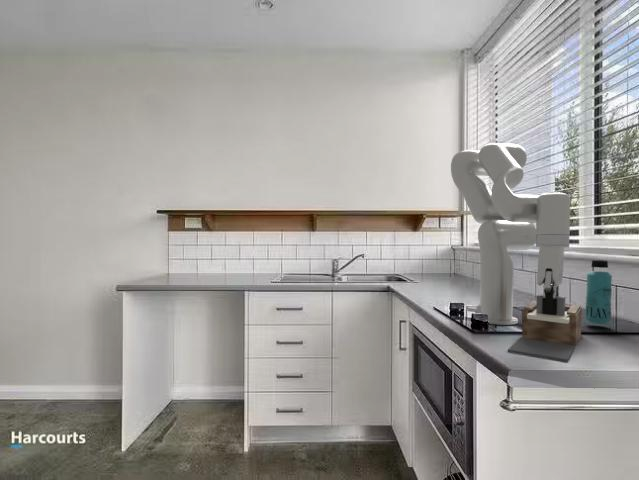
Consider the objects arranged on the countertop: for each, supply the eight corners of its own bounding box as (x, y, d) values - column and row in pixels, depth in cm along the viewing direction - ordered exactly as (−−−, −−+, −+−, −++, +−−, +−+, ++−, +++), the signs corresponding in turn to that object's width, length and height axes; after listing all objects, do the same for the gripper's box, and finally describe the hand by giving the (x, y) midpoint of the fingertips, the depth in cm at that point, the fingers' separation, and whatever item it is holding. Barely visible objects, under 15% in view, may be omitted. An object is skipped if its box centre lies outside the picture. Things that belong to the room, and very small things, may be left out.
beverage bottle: (580, 326, 125) (582, 259, 125) (590, 323, 129) (592, 259, 128) (605, 330, 120) (607, 261, 119) (614, 327, 124) (616, 260, 123)
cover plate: (526, 318, 105) (527, 296, 105) (534, 311, 115) (535, 291, 115) (568, 323, 100) (568, 300, 100) (573, 316, 109) (573, 295, 109)
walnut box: (522, 338, 109) (522, 307, 109) (532, 328, 120) (532, 300, 120) (575, 346, 102) (576, 313, 102) (580, 335, 113) (581, 305, 113)
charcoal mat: (507, 352, 96) (507, 349, 96) (520, 339, 108) (520, 337, 108) (567, 362, 89) (567, 359, 89) (574, 348, 100) (574, 345, 100)
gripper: (541, 241, 116) (539, 306, 116) (530, 241, 102) (528, 315, 103) (572, 241, 111) (570, 310, 112) (565, 242, 98) (563, 319, 98)
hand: (550, 312), depth 107 cm, fingers closed on cover plate, 4 cm apart
